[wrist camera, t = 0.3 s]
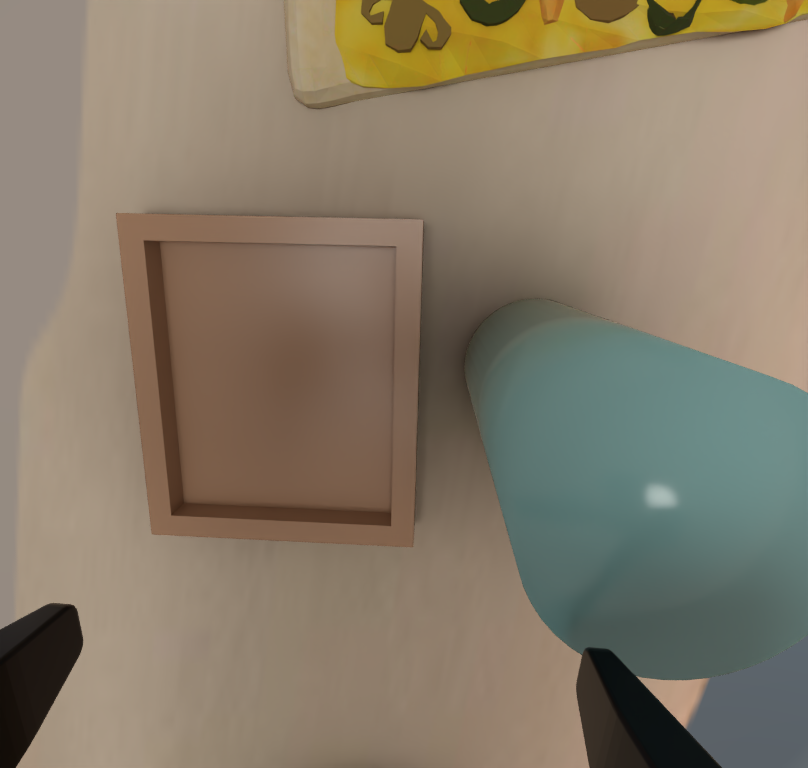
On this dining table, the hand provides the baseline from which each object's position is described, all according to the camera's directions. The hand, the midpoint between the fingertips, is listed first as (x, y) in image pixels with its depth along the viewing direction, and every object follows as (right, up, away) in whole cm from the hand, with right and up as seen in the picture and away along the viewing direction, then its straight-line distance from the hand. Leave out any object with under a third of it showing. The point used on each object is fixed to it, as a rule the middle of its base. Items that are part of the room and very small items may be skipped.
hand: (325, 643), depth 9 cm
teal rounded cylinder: (+7, +5, +13) cm, 16 cm away
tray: (-4, +5, +14) cm, 15 cm away
